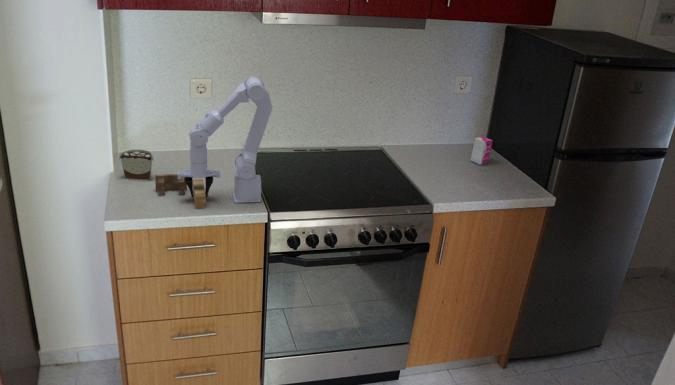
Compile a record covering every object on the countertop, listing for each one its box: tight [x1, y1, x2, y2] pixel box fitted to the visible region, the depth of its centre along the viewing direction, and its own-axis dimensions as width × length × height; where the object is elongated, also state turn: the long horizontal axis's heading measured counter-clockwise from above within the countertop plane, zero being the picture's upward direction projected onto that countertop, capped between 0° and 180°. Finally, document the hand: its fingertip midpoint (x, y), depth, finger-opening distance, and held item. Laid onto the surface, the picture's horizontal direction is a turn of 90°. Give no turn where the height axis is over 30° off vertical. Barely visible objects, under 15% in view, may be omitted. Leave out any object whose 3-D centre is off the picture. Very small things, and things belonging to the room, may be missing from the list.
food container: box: [118, 149, 155, 182], centre depth 225 cm, size 12×6×10 cm, turn 92°
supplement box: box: [469, 136, 494, 166], centre depth 268 cm, size 6×6×12 cm
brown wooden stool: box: [154, 173, 188, 197], centre depth 216 cm, size 11×5×6 cm, turn 105°
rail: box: [192, 178, 207, 210], centre depth 213 cm, size 14×4×5 cm, turn 16°
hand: (199, 196), depth 213 cm, fingers open, 4 cm apart
